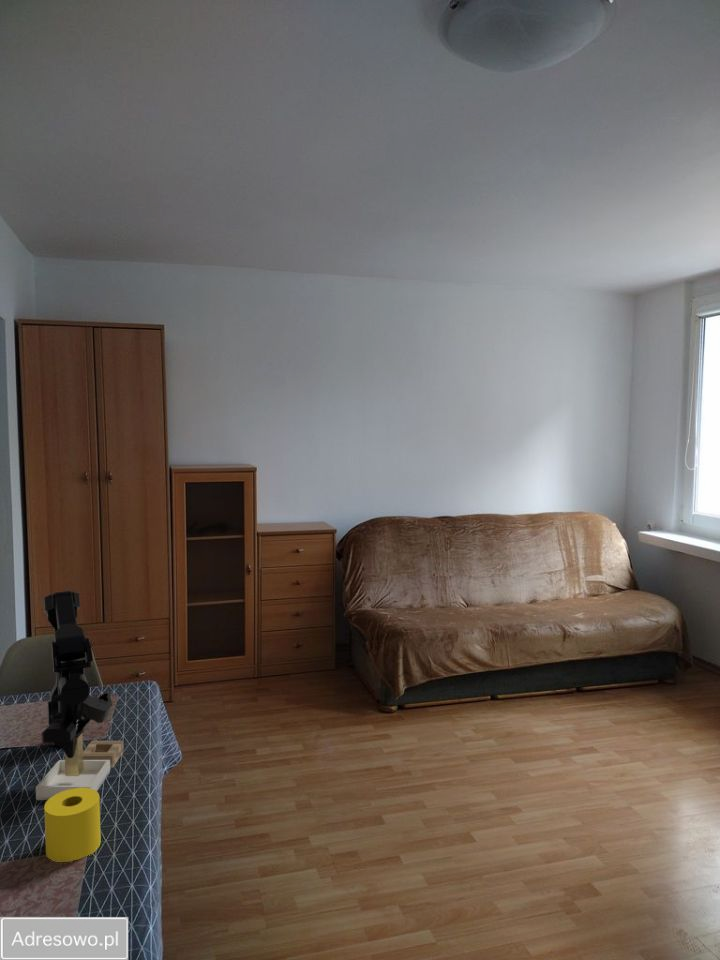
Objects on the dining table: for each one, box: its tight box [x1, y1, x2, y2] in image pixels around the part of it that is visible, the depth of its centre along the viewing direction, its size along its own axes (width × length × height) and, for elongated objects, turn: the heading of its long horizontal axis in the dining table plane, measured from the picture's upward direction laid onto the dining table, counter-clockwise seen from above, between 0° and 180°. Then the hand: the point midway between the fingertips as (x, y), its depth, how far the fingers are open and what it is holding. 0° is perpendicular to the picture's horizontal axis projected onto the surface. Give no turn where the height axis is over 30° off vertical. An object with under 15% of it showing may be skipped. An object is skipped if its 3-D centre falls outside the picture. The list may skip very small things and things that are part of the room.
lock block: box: [83, 740, 124, 769], centre depth 169 cm, size 8×8×3 cm
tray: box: [35, 759, 111, 801], centre depth 157 cm, size 12×12×3 cm
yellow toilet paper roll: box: [43, 788, 102, 862], centre depth 134 cm, size 10×10×9 cm
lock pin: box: [64, 732, 84, 776], centre depth 157 cm, size 3×3×9 cm
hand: (73, 754), depth 157 cm, fingers closed on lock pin, 3 cm apart
